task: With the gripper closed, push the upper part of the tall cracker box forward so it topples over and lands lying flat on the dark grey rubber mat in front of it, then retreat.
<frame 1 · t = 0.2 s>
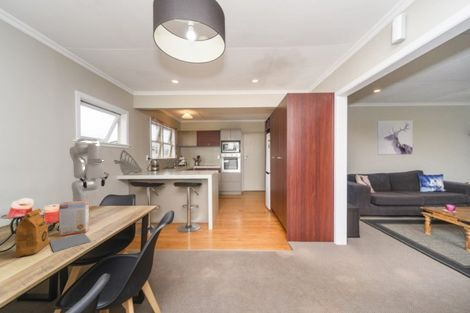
hand: (94, 187, 122), 31 cm above the table, fingers open, 9 cm apart
cracker box: (74, 233, 121), on the table
coffee package: (32, 251, 98), on the table
mat: (70, 242, 108), on the table
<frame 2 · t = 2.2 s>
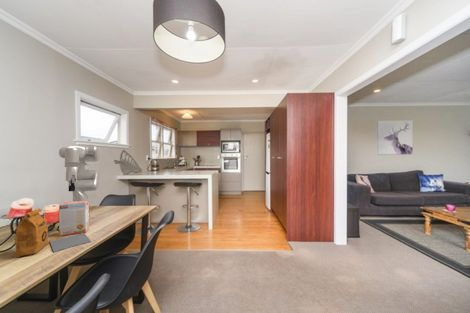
hand: (71, 191, 127), 27 cm above the table, fingers closed
nothing on the table moved.
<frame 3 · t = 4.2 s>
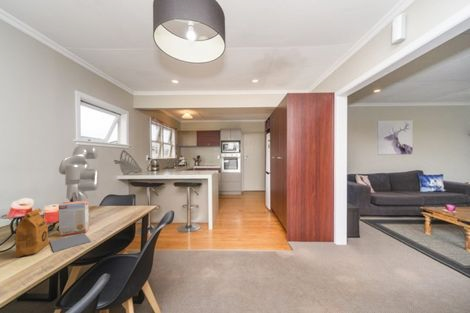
hand: (72, 208, 125), 15 cm above the table, fingers closed
cracker box: (74, 233, 121), on the table, touching gripper
everything else where it was.
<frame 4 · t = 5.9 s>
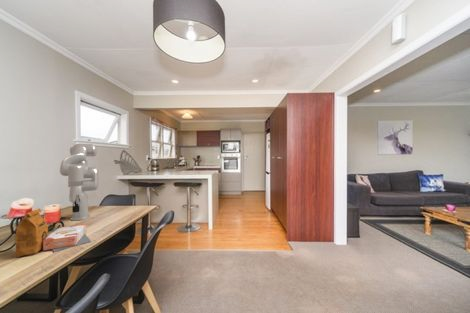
hand: (75, 211, 118), 15 cm above the table, fingers closed
cracker box: (73, 229, 119), point 4 cm above the table, touching mat
everything else where it was.
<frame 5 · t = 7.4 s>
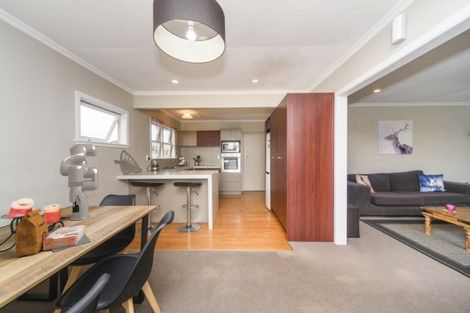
hand: (75, 212, 118), 15 cm above the table, fingers closed
nothing on the table moved.
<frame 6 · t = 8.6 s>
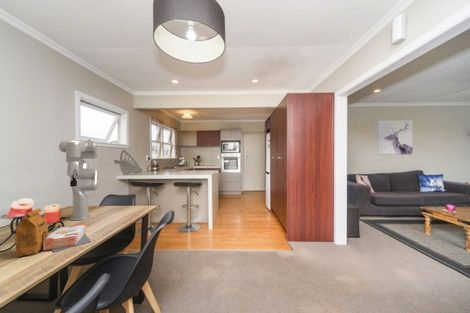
hand: (73, 186, 124), 31 cm above the table, fingers closed
nothing on the table moved.
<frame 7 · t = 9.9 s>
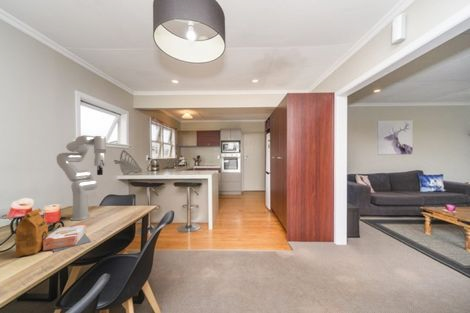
hand: (99, 174, 142), 37 cm above the table, fingers closed
nothing on the table moved.
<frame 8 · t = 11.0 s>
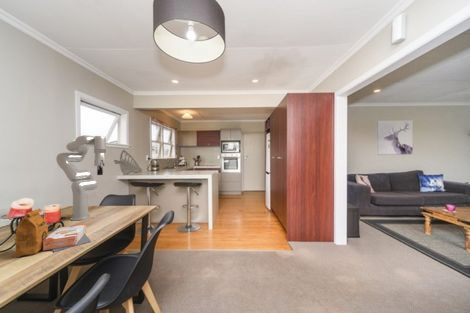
hand: (99, 174, 142), 37 cm above the table, fingers closed
nothing on the table moved.
at the end: cracker box tilted 91°; cracker box touching mat; cracker box inside the target area (7.2 cm from its centre), point 3.6 cm above the table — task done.
